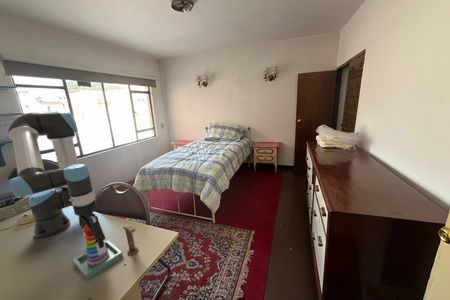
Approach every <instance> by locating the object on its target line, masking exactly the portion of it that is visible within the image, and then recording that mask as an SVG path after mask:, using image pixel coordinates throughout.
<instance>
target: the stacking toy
mask: <svg viewBox="0 0 450 300" xmlns="http://www.w3.org/2000/svg"><path fill="white" fill-rule="evenodd" d="M89 225H90V224H89ZM83 231H84V233H85V234H86V235H85V238H86V242H85V243H86V245H85V246H86V248H85V253H86V252H87V253H86V254H87V259H88V260H87V263H88V265H90V266H96V265H99V264H101V263H103V262H104V261H105V260H106V259H107V258H108V256H109V252H108V250H107V248H106V252H105V253H103V254H101V255H100V256H99V255H98V251H97V247H96V243H94V242H95V241H96V240H95V238H94V236H93V234H92V232H91V230H90V228H88V227H87V225H85V226H84V228H83V230H82V232H83ZM85 238H84V239H85ZM105 247H106V246H105Z"/></svg>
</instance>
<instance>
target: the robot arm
mask: <svg viewBox="0 0 450 300" xmlns="http://www.w3.org/2000/svg"><path fill="white" fill-rule="evenodd" d="M76 132H79V131H78V127H77V125H76V122H75V120H74V118H73V116H72V113H71V112H69V111H66V110H63V111H61V110H60V111H59V110H57V111H56V110H55V111H54V110H53V111H41V112H28V113H27V112H26V113H24V114H21V115H20V116H19V117H16V118H15V119H14V120H13V121H11V123H10V125H9V127H8V129H7V134H8V137H9V139H10V140H11V141H12V144H13V145H12V146H13V150H14V157H15V165H16V171H17V176H16V177H12V178H10V180H9V186H10V189H11V193H12V194H13V196H14V197H16V198H22V197H27V196H28V200H27V201H28V206H29V208H30V211H31V213H32V218H33V219H34V227H33V228H34V230H33V235H34V237H35V238H37V239H43V238H48V237H53V236H55V235H58V234H60V233H61V232H63V231H64V230H65V231H66V229H67V228H68V227H70V225H71V222H70V218H69V217H68V216H66V214H65V213H64V212H63V211H64V210H63V209H66V208H70V207H72V208H73V212H74V215H75V216H77V217H78V223H79V226H80V229H82V234H83V237H84V241H85V242H84V243H86V238H85V235H86V234H85V233H84V231H83V228H84V226H85V225H87V227H88V228H90V230H91V232H92V234H93V236H94V238H95V240H96V241H95V242H94V243H96V247H97V251H98V255H99V256H100V255H101V254H103V253H105V252H106V247H105V243H104V242H105V240H106V238H107V237H106V236H105V233H104V230H103V228H102V226H101V224H100V221H99V219H98V216H97V215H96V214H95V213H94V212H95V211H96V210H97V208H98V203H97V201H96V196H95V193H94V189H93V185H92V180H91V175H90V170H89V167H88V166H87V164H84V163H79V160H78V156H77V152H76V147H75V143H74V137H75V136H76V134H75V133H76ZM41 136H46V139H47V140H49V141H51V142H52V146H53V149H54V153H55V158H56V160H57V163H58V168H56V169H50V170H46V171H45V168H44V167H45V165H44V163H43V158H42V155H41V151H40V147H39V143H38V139H39V137H41ZM89 224H90V225H89Z"/></svg>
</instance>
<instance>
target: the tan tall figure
mask: <svg viewBox="0 0 450 300" xmlns="http://www.w3.org/2000/svg"><path fill="white" fill-rule="evenodd" d="M123 230H125V234H126V241H127V245H128V249H127V252H126V253H127V256H134V255H136V254H137V253H138V252H139V248H138V247H137V246H136V245H135V240H134V236H133V233H135V232H136V228H135V227H133V226H132V225H131V224H129V223H127V224H124V225H123Z"/></svg>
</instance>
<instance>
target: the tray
mask: <svg viewBox="0 0 450 300" xmlns="http://www.w3.org/2000/svg"><path fill="white" fill-rule="evenodd" d="M104 243H105V246H106V248H107V250H108V252H109V256H108V258H107V259H106V260H105V261H104V262H103V263H101V264H99V265H96V266H90V265H88V263H87V260H88V259H87V254H86V253H87V251H85V252H84V253H83V254H81V255H79V256H77V257H75V258H73V259H72V260H73V264H74V265H75V267H76V268H77V270H78V271H79V272H80V273H81V275H82V276H83V277H84V279H85V280H86V281H89V280H90V279H92V278H93V277H95V276H97V275H98V274H99V273H100V272H102V271H104V270H106V269H107V268H108V267H109V266H111V265H113V264H114V263H115V262H117V261H118V260H120V259H122V258H123V257H124V254H123V252H122V250H120V248H118V247H116V246H115V245H114V244H113V243H112V242H111V241H110V240H108V239H107V240H106V241H105V240H104Z"/></svg>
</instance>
